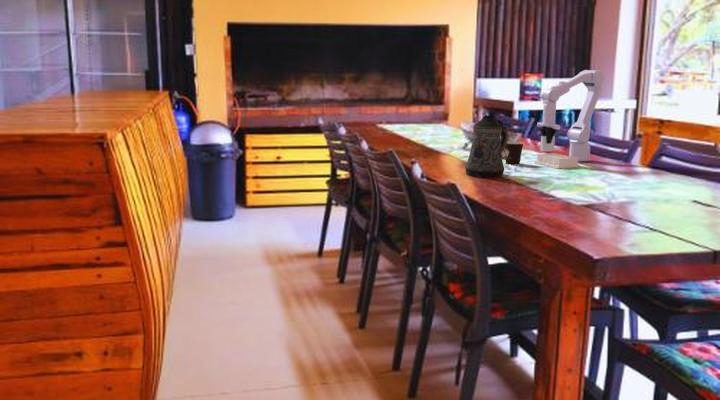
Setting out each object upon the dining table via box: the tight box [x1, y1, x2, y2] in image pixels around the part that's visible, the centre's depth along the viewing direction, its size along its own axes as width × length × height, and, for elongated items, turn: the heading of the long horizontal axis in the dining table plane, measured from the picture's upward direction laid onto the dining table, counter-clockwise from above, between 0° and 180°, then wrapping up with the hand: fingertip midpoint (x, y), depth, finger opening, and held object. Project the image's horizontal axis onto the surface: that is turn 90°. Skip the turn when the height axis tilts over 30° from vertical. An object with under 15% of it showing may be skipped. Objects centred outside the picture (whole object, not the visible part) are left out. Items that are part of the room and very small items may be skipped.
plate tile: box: [539, 135, 556, 152], centre depth 321 cm, size 7×2×7 cm, turn 114°
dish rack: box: [534, 152, 581, 170], centre depth 315 cm, size 13×16×4 cm
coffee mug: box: [504, 141, 524, 166], centre depth 319 cm, size 12×9×10 cm
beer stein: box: [464, 115, 509, 179], centre depth 288 cm, size 16×19×25 cm
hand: (547, 143), depth 321 cm, fingers closed on plate tile, 2 cm apart
